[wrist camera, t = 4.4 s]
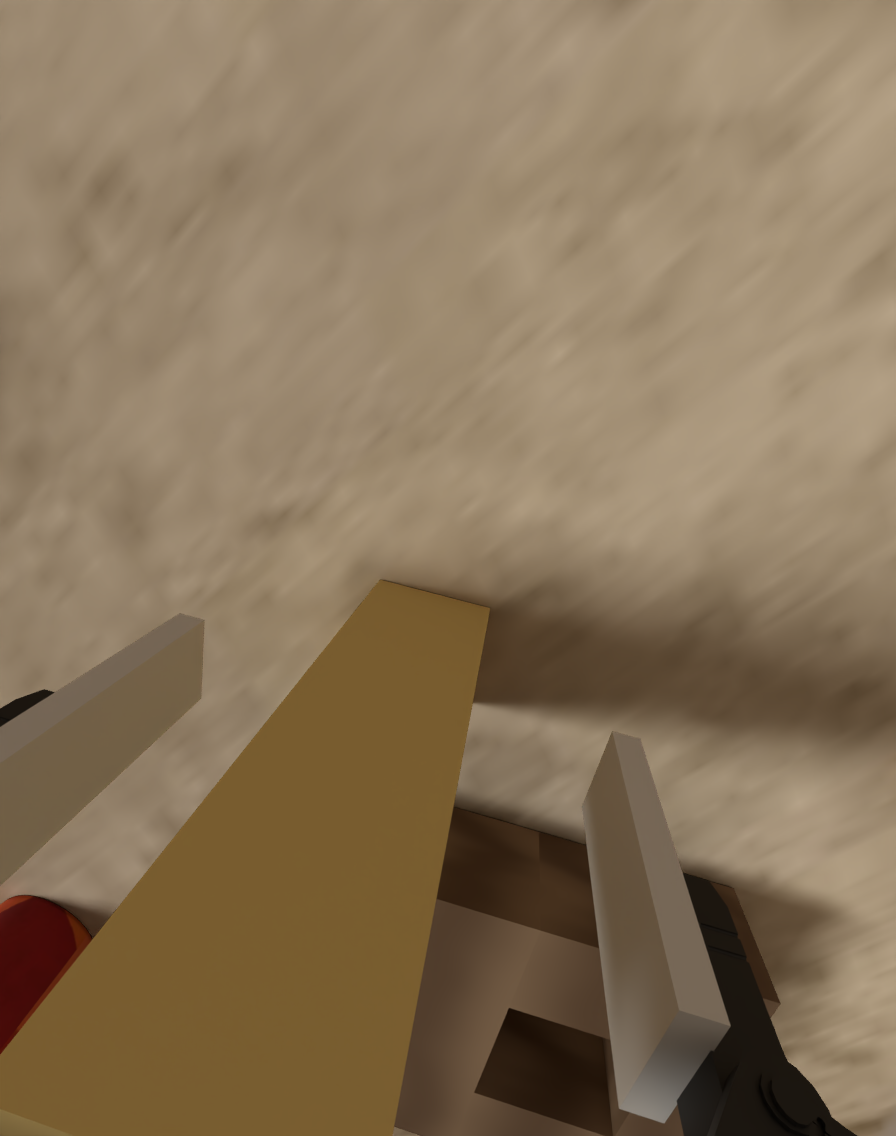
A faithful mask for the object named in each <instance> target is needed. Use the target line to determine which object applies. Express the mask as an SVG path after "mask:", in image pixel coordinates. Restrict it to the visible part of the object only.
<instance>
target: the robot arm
mask: <svg viewBox="0 0 896 1136" xmlns="http://www.w3.org/2000/svg"><path fill="white" fill-rule="evenodd" d="M203 643H204V620H203V619H199V618H195V617H192V616H188V615H184V614H181V613H179V614H178V615H176V616H175V617H173V618H172V619H170V620H168V621H167V622H165V623H164V624H162V625H160V626H159V627H157V628H156V629H154V630H153V631H151V632H149V633H148V634H146V635H145V636H143V637H142V638H140V639H138V640H137V641H135V642H134V643H132V644H131V645H129V646H127V647H126V648H124V649H123V650H121V651H119V652H118V653H116V654H115V655H113V656H112V657H110V658H108V659H107V660H105V661H104V662H102V663H101V664H99V665H97V666H96V667H94V668H93V669H91V670H89V671H88V672H86V673H85V674H83V675H82V676H80V677H78V678H77V679H75V680H74V681H72V682H71V683H69V684H67V685H66V686H64V687H63V688H61V689H59V690H58V691H56V692H52V691H48V690H45V689H44V690H41V691H38V692H35V693H33V694H30V695H27V696H24V697H21V698H18V699H16V700H14V701H12V702H11V703H9V704H7V705H5V706H4V707H2V708H0V886H1V885H2V884H3V883H4V882H5V881H6V880H7V879H8V878H9V877H10V876H11V875H12V874H13V873H14V872H16V871H17V870H18V869H19V868H20V867H21V866H22V865H23V864H24V863H25V862H26V861H27V860H28V859H29V858H31V857H32V856H33V855H34V854H35V853H36V852H37V851H38V850H39V849H40V848H41V847H42V846H43V845H44V844H46V843H47V842H48V841H49V840H50V839H51V838H52V837H53V836H54V835H55V834H56V833H57V832H58V831H60V830H61V829H62V828H63V827H64V826H65V825H66V824H67V823H68V822H69V821H70V820H71V819H72V818H73V817H75V816H76V815H77V814H78V813H79V812H80V811H81V810H82V809H83V808H84V807H85V806H86V805H87V804H88V803H90V802H91V801H92V800H93V799H94V798H95V797H96V796H97V795H98V794H99V793H100V792H101V791H102V790H103V789H105V788H106V787H107V786H108V785H109V784H110V783H111V782H112V781H113V780H114V779H115V778H116V777H117V776H118V775H120V774H121V773H122V772H123V771H124V770H125V769H126V768H127V767H128V766H129V765H130V764H131V763H132V762H133V761H135V760H136V759H137V758H138V757H139V756H140V755H141V754H142V753H143V752H144V751H145V750H146V749H147V748H148V747H150V746H151V745H152V744H153V743H154V742H155V741H156V740H157V739H158V738H159V737H160V736H161V735H162V734H164V733H165V732H166V731H167V730H168V729H169V728H170V727H171V726H172V725H173V724H174V723H175V722H176V721H177V720H179V719H180V718H181V717H182V716H183V715H184V714H185V713H186V712H187V711H188V710H189V709H190V708H191V707H192V706H194V705H195V704H196V703H197V702H198V701H199V700H200V699H201V692H202V667H203ZM582 811H583V820H584V828H585V836H586V844H587V852H588V860H589V868H590V877H591V885H592V893H593V901H594V909H595V917H596V926H597V934H598V942H599V950H600V958H601V966H602V974H603V983H604V991H605V999H606V1007H607V1015H608V1023H609V1031H610V1040H611V1048H612V1056H613V1064H614V1072H615V1080H616V1089H617V1097H618V1105H619V1109H621V1110H624V1111H628V1112H631V1113H634V1114H637V1115H640V1116H643V1117H646V1118H649V1119H652V1120H655V1121H658V1122H661V1123H665V1122H666V1120H667V1119H668V1117H669V1116H670V1114H671V1113H672V1111H673V1110H674V1108H675V1107H676V1106H677V1105H678V1110H679V1115H680V1120H681V1125H682V1129H683V1134H684V1136H857V1135H855V1134H854V1133H852V1132H851V1131H849V1130H848V1129H846V1128H845V1127H844V1126H842V1125H841V1124H840V1123H839V1122H837V1121H836V1120H835V1119H833V1118H832V1117H831V1115H830V1112H829V1110H828V1108H827V1107H826V1105H825V1103H824V1102H823V1100H822V1099H821V1097H820V1096H819V1094H818V1093H817V1091H816V1089H815V1088H814V1087H813V1085H812V1084H811V1083H810V1082H809V1081H808V1080H807V1079H806V1078H805V1077H804V1076H803V1075H802V1074H801V1073H800V1071H799V1070H798V1069H797V1068H796V1067H794V1066H793V1065H791V1064H790V1063H789V1062H788V1061H787V1059H786V1057H785V1055H784V1052H783V1050H782V1048H781V1045H780V1042H779V1040H778V1037H777V1034H776V1032H775V1029H774V1027H773V1024H772V1021H771V1019H770V1016H769V1014H768V1011H767V1008H766V1006H765V1003H764V1000H763V998H762V995H761V993H760V990H759V987H758V985H757V982H756V979H755V977H754V974H753V972H752V969H751V966H750V964H749V962H747V960H746V958H747V956H746V953H745V951H744V948H743V945H742V943H741V940H740V939H738V932H737V930H736V927H735V924H734V922H733V919H732V917H731V914H730V911H729V909H728V906H727V905H726V904H725V902H724V901H723V899H722V898H721V897H720V895H719V894H718V892H717V891H716V890H715V888H714V887H713V885H712V884H711V883H710V881H708V880H705V879H701V878H698V877H694V876H691V875H687V874H684V873H682V870H681V866H680V863H679V860H678V857H677V854H676V851H675V847H674V844H673V841H672V838H671V835H670V831H669V828H668V825H667V822H666V819H665V816H664V812H663V809H662V806H661V803H660V800H659V797H658V793H657V790H656V787H655V784H654V781H653V777H652V774H651V771H650V768H649V765H648V762H647V758H646V755H645V752H644V749H643V746H642V742H641V739H639V738H636V737H632V736H628V735H625V734H621V733H617V732H614V731H612V733H611V736H610V738H609V741H608V743H607V746H606V748H605V751H604V753H603V756H602V758H601V761H600V763H599V766H598V768H597V770H596V773H595V775H594V778H593V780H592V783H591V785H590V788H589V790H588V793H587V795H586V798H585V800H584V803H583V805H582Z"/></svg>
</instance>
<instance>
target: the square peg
mask: <svg viewBox="0 0 896 1136" xmlns="http://www.w3.org/2000/svg"><path fill="white" fill-rule="evenodd" d="M489 613H490V608H488V607H484V606H480V605H476V604H472V603H468V602H464V601H461V600H457V599H453V598H449V597H445V596H441V595H437V594H434V593H430V592H426V591H422V590H418V589H414V588H410V587H407V586H403V585H399V584H395V583H391V582H387V581H383V580H379V582H378V583H377V584H376V585H375V587H374V588H373V589H372V590H371V592H370V593H369V594H368V595H367V597H366V598H365V599H364V600H363V602H362V603H361V604H360V605H359V607H358V608H357V609H356V610H355V612H354V613H353V614H352V615H351V617H350V618H349V619H348V620H347V622H346V623H345V624H344V625H343V627H342V628H341V629H340V630H339V632H338V633H337V634H336V635H335V637H334V638H333V639H332V640H331V642H330V643H329V644H328V645H327V647H326V648H325V649H324V650H323V652H322V653H321V654H320V655H319V657H318V658H317V659H316V660H315V662H314V663H313V664H312V665H311V667H310V668H309V669H308V670H307V672H306V673H305V674H304V675H303V677H302V678H301V679H300V680H299V682H298V683H297V684H296V685H295V687H294V688H293V689H292V690H291V692H290V693H289V694H288V695H287V697H286V698H285V699H284V700H283V702H282V703H281V704H280V705H279V707H278V708H277V709H276V710H275V712H274V713H273V714H272V715H271V717H270V718H269V719H268V720H267V722H266V723H265V724H264V725H263V727H262V728H261V729H260V730H259V732H258V733H257V734H256V735H255V737H254V738H253V739H252V740H251V742H250V743H249V744H248V745H247V747H246V748H245V749H244V750H243V752H242V753H241V754H240V755H239V757H238V758H237V759H236V760H235V762H234V763H233V764H232V765H231V767H230V768H229V769H228V770H227V772H226V773H225V774H224V775H223V777H222V778H221V779H220V780H219V782H218V783H217V784H216V785H215V787H214V788H213V789H212V790H211V792H210V793H209V794H208V795H207V797H206V798H205V799H204V800H203V802H202V803H201V804H200V805H199V807H198V808H197V809H196V811H195V812H194V813H193V814H192V816H191V817H190V818H189V819H188V821H187V822H186V823H185V824H184V826H183V827H182V828H181V829H180V831H179V832H178V833H177V834H176V836H175V837H174V838H173V839H172V841H171V842H170V843H169V844H168V846H167V847H166V848H165V849H164V851H163V852H162V853H161V854H160V856H159V857H158V858H157V859H156V861H155V862H154V863H153V864H152V866H151V867H150V868H149V869H148V871H147V872H146V873H145V874H144V876H143V877H142V878H141V879H140V881H139V882H138V883H137V884H136V886H135V887H134V888H133V889H132V891H131V892H130V893H129V894H128V896H127V897H126V898H125V899H124V901H123V902H122V903H121V904H120V906H119V907H118V908H117V909H116V911H115V912H114V913H113V914H112V916H111V917H110V918H109V919H108V921H107V922H106V923H105V924H104V926H103V927H102V928H101V929H100V931H99V932H98V933H97V934H96V936H95V937H94V938H93V939H92V941H91V942H90V943H89V944H88V946H87V947H86V948H85V949H84V951H83V952H82V953H81V954H80V956H79V957H78V958H77V959H76V961H75V962H74V963H73V964H72V966H71V967H70V968H69V969H68V971H67V972H66V973H65V974H64V976H63V977H62V978H61V979H60V981H59V982H58V983H57V984H56V986H55V987H54V988H53V989H52V991H51V992H50V993H49V994H48V996H47V997H46V998H45V999H44V1001H43V1002H42V1003H41V1004H40V1006H39V1007H38V1008H37V1009H36V1011H35V1012H34V1013H33V1014H32V1016H31V1017H30V1018H29V1019H28V1021H27V1022H26V1023H25V1024H24V1026H23V1027H22V1028H21V1029H20V1031H19V1032H18V1033H17V1034H16V1036H15V1037H14V1038H13V1039H12V1041H11V1042H10V1043H9V1044H8V1046H7V1047H6V1048H5V1049H4V1051H3V1052H2V1053H1V1054H0V1136H392V1135H393V1129H394V1124H395V1119H396V1113H397V1108H398V1103H399V1097H400V1092H401V1086H402V1081H403V1076H404V1070H405V1065H406V1060H407V1054H408V1049H409V1043H410V1038H411V1033H412V1027H413V1022H414V1016H415V1011H416V1006H417V1000H418V995H419V990H420V984H421V979H422V973H423V968H424V963H425V957H426V952H427V946H428V941H429V936H430V930H431V925H432V920H433V914H434V909H435V903H436V898H437V893H438V887H439V882H440V877H441V871H442V866H443V860H444V855H445V850H446V844H447V839H448V833H449V828H450V823H451V817H452V812H453V807H454V801H455V796H456V790H457V785H458V780H459V774H460V769H461V763H462V758H463V753H464V747H465V742H466V737H467V731H468V726H469V720H470V715H471V710H472V704H473V699H474V694H475V688H476V683H477V677H478V672H479V667H480V661H481V656H482V650H483V645H484V640H485V634H486V629H487V624H488V618H489Z"/></svg>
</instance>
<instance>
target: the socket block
mask: <svg viewBox="0 0 896 1136" xmlns="http://www.w3.org/2000/svg"><path fill="white" fill-rule="evenodd" d="M710 883H711V884H712V885H713V887H714V888H715V890H716V891H717V892H718V894H719V895H720V897H721V898H722V899H723V901H724V902H725V904H726V905H727V906H728V909H729V911H730V914H731V917H732V919H733V922H734V924H735V927H736V930H737V932H738V939H740V940H741V943H742V945H743V948H744V951H745V953H746V956H747V958H746V960H747V962H749V964H750V966H751V969H752V972H753V974H754V977H755V979H756V982H757V985H758V987H759V990H760V993H761V995H762V998H763V1000H764V1003H765V1006H766V1008H767V1011H768V1014H769V1016H770V1018H771V1016H772V1015H773V1014H774V1012H775V1011H776V1009H777V1008H778V1007H779V1005H780V1004H781V1003H780V1001H779V999H778V996H777V994H776V991H775V989H774V986H773V984H772V981H771V979H770V976H769V974H768V972H767V969H766V967H765V964H764V962H763V959H762V957H761V954H760V952H759V949H758V947H757V945H756V942H755V940H754V937H753V935H752V932H751V930H750V927H749V925H748V922H747V920H746V918H745V915H744V913H743V910H742V908H741V905H740V903H739V900H738V898H737V895H736V893H735V891H734V888H731V887H727V886H724V885H720V884H717V883H713V882H710ZM394 1127H397V1128H400V1129H403V1130H406V1131H409V1132H412V1133H415V1134H418V1135H421V1136H684V1134H683V1129H682V1125H681V1120H680V1115H679V1110H678V1105H677V1106H676V1107H675V1108H674V1110H673V1111H672V1113H671V1114H670V1116H669V1117H668V1119H667V1120H666V1122H665V1123H661V1122H658V1121H655V1120H652V1119H649V1118H646V1117H643V1116H640V1115H637V1114H634V1113H631V1112H628V1111H624V1110H621V1109H619V1105H618V1097H617V1089H616V1080H615V1072H614V1064H613V1056H612V1048H611V1040H610V1031H609V1023H608V1015H607V1007H606V999H605V991H604V983H603V974H602V966H601V958H600V950H599V942H598V934H597V926H596V917H595V909H594V901H593V893H592V885H591V877H590V868H589V860H588V852H587V846H586V845H582V844H579V843H575V842H572V841H569V840H565V839H562V838H558V837H555V836H551V835H548V834H544V833H541V832H538V831H534V830H531V829H527V828H524V827H520V826H517V825H513V824H510V823H507V822H503V821H500V820H496V819H493V818H489V817H486V816H482V815H479V814H475V813H472V812H469V811H465V810H462V809H458V808H455V807H453V812H452V817H451V823H450V828H449V833H448V839H447V844H446V850H445V855H444V860H443V866H442V871H441V877H440V882H439V887H438V893H437V898H436V903H435V909H434V914H433V920H432V925H431V930H430V936H429V941H428V946H427V952H426V957H425V963H424V968H423V973H422V979H421V984H420V990H419V995H418V1000H417V1006H416V1011H415V1016H414V1022H413V1027H412V1033H411V1038H410V1043H409V1049H408V1054H407V1060H406V1065H405V1070H404V1076H403V1081H402V1086H401V1092H400V1097H399V1103H398V1108H397V1113H396V1119H395V1124H394Z"/></svg>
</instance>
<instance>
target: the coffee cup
mask: <svg viewBox="0 0 896 1136" xmlns="http://www.w3.org/2000/svg"><path fill="white" fill-rule="evenodd" d="M91 941H92V938H91V936H90V934H89V932H88V931H87V929H86V928H85V927H84V926H83V924H82V923H81V922H80V921H79V920H78V919H77V918H76V917H74V916H73V915H72V914H71V913H69V912H68V911H67V910H65V909H64V908H62V907H60V906H58V905H57V904H55V903H53V902H50V901H48V900H45V899H42V898H39V897H34V896H26V895H22V896H15V897H11V898H9V899H7V900H6V901H5V902H3V903H2V904H1V905H0V1054H1V1053H2V1052H3V1051H4V1049H5V1048H6V1047H7V1046H8V1044H9V1043H10V1042H11V1041H12V1039H13V1038H14V1037H15V1036H16V1034H17V1033H18V1032H19V1031H20V1029H21V1028H22V1027H23V1026H24V1024H25V1023H26V1022H27V1021H28V1019H29V1018H30V1017H31V1016H32V1014H33V1013H34V1012H35V1011H36V1009H37V1008H38V1007H39V1006H40V1004H41V1003H42V1002H43V1001H44V999H45V998H46V997H47V996H48V994H49V993H50V992H51V991H52V989H53V988H54V987H55V986H56V984H57V983H58V982H59V981H60V979H61V978H62V977H63V976H64V974H65V973H66V972H67V971H68V969H69V968H70V967H71V966H72V964H73V963H74V962H75V961H76V959H77V958H78V957H79V956H80V954H81V953H82V952H83V951H84V949H85V948H86V947H87V946H88V944H89V943H90V942H91Z"/></svg>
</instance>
